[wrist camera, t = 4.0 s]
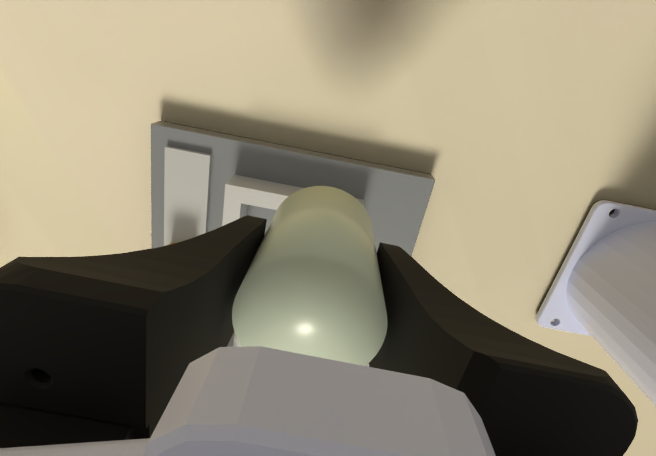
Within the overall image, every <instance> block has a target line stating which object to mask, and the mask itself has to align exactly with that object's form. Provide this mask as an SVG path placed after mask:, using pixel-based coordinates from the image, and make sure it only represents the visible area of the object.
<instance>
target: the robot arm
mask: <svg viewBox="0 0 656 456" xmlns="http://www.w3.org/2000/svg"><path fill="white" fill-rule="evenodd" d="M613 209H615V212H614V213H613V214H611V215H609V213H610V211H611V210H613ZM266 222H267V219H263V218H259V217H254V216H249V215H247V216H244V217H242V218H239V219H237V220H235V221H233V222H230V223H228V224H226V225H224V226H221V227H219V228H217V229H215V230H212V231H210V232H207V233H204V234H201V235H199V236H196V237H193V238H191V239H188V240H185V241H181V242H178V243H174V244H170V245H166V246H162V247H158V248H153V249H146V250H140V251H134V252H128V253H121V254H112V255H101V256H85V257H18V258H16V259H14V260H13V261H11V262H9V263H8V264H6V265H4V266H3V267H1V268H0V456H623V455H624V453H625V452H626V451H627V449H628V447H629V446H630V444H631V442H632V441H633V439H634V437H635V434H636V429H637V423H638V419H637V414H636V410H635V407H634V405H633V404H632V403H631V401H630V400H629V399H628V397H627V396H626V395H625V394H624V392H623V391H622V390H621V389H620V388H619V387H618V385H617V384H616V383H615V382H614V381H613V379H612V378H611V377H610V376H609V375H608V373H607V372H606V371H604V370H602V369H599V368H596V367H594V366H591V365H589V364H586V363H584V362H581V361H578V360H576V359H573V358H571V357H568V356H566V355H563V354H560V353H558V352H555V351H553V350H551V349H549V348H546V347H544V346H542V345H540V344H538V343H536V342H533V341H531V340H529V339H527V338H525V337H523V336H521V335H519V334H517V333H515V332H513V331H511V330H509V329H507V328H506V327H504V326H502V325H500V324H499V323H497V322H495V321H493V320H491V319H490V318H488V317H486V316H485V315H483V314H482V313H480V312H478V311H477V310H475V309H474V308H473V307H471V306H470V305H468V304H467V303H465V302H464V301H462V300H461V299H459V298H458V297H457V296H455V295H454V294H453V293H452V292H450V291H449V290H448V289H447V288H445V287H444V286H443V285H442V284H441V283H439V282H438V281H437V280H436V279H435V278H434V277H432V276H431V275H430V274H429V273H428V272H427V271H426V270H425V269H424V268H423V267H422V266H421V265H419V264H418V263H417V262H416V261H415V260H414V259H413V258H412V257H411V256H410V255H409V254H408V253H407V252H406V251H404V250H403V249H402V248H401V247H399V246H396V245H391V244H386V243H381V242H380V243H379V247H378V250H377V259H378V264H379V270H380V276H381V282H382V288H383V294H384V300H385V306H386V312H387V332H386V336H385V340H384V342H383V344H382V346H381V348H380V350H379V351H378V353H377V354H376V356H375V357H374V358H373V359H372V360H371V361H370V362H369V367H367V366H362V365H357V364H351V363H346V362H341V361H336V360H330V359H325V358H320V357H314V356H309V355H304V354H299V353H293V352H288V351H283V350H277V349H272V348H267V347H262V346H247V347H227V345H228V343H229V341H230V339H231V337H232V335H233V333H234V328H233V324H232V308H233V303H234V299H235V297H236V294H237V292H238V290H239V288H240V286H241V284H242V282H243V279H244V277H245V275H246V273H247V271H248V269H249V267H250V265H251V263H252V261H253V259H254V256H255V254H256V252H257V250H258V248H259V246H260V244H261V242H262V240H263V238H264V235H265V229H266ZM535 319H536V321H537V323H538V324H539V325H540V326H541V327H545V328H550V329H556V330H561V331H567V332H572V333H577V334H583V335H588V336H592V337H593V338H594V339H595V340H596V342H597V343H598V344H599V345H600V346H601V347H602V348H603V349H604V350H605V351H606V353H607V354H608V355H609V356H610V357H611V358H612V359H613V360H614V361H615V362H616V364H617V365H618V366H619V367H620V368H621V369H622V370H623V371H624V372H625V373H626V375H627V376H628V377H629V378H630V379H631V380H632V381H633V382H634V383H635V384H636V386H637V387H638V388H639V389H640V390H641V391H642V392H643V393H644V394H645V395H646V397H647V398H648V399H649V400H650V401H651V402H652V403H653V404H654V405H655V406H656V210H652V209H647V208H642V207H637V206H632V205H627V204H622V203H617V202H612V201H607V200H601V201H598V202H596V203H595V204H594V205H593V206H592V208H591V210H590V212H589V214H588V215H587V217H586V219H585V221H584V223H583V225H582V227H581V229H580V231H579V233H578V235H577V237H576V239H575V241H574V243H573V245H572V247H571V249H570V251H569V253H568V255H567V256H566V258H565V260H564V262H563V264H562V266H561V268H560V270H559V272H558V274H557V276H556V278H555V280H554V282H553V284H552V286H551V288H550V290H549V292H548V294H547V296H546V298H545V299H544V301H543V303H542V305H541V307H540V309H539V311H538V313H537V315H536V318H535ZM554 319H556V320H555V321H553V322H551V321H552V320H554Z"/></svg>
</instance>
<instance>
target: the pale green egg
mask: <svg viewBox="0 0 656 456" xmlns="http://www.w3.org/2000/svg"><path fill="white" fill-rule="evenodd" d="M232 324H233V328H234V332H235V335H236V337H237V340H238V341H239V343H240V345H241V347H247V346H262V347H267V348H272V349H277V350H283V351H288V352H293V353H299V354H304V355H309V356H314V357H320V358H325V359H330V360H336V361H341V362H346V363H351V364H357V365H362V366H366V365H367V364H368V363H369V362H370V361H371V360H372V359H373V358H374V357H375V356H376V354H377V353H378V351H379V350H380V348H381V346H382V344H383V342H384V340H385V336H386V332H387V312H386V306H385V300H384V294H383V288H382V282H381V276H380V270H379V264H378V259H377V253H376V247H375V241H374V235H373V229H372V223H371V220H370V217H369V215H368V213H367V211H366V209H365V208H364V207H363V205H362V204H361V203H360V202H359V201H358V200H357V199H356V198H355V197H353V196H352V195H350V194H349V193H347V192H345V191H343V190H341V189H338V188H335V187H330V186H312V187H307V188H304V189H301V190H299V191H297V192H295V193H293V194H291V195H290V196H288V197H287V198H286V199H285V200H284V201H283V202H282V203H281V205H280V206H279V207H278V209H277V211H276V213H275V215H274V217H273V219H272V221H271V223H270V225H269V227H268V229H267V231H266V233H265V236H264V238H263V240H262V242H261V244H260V246H259V248H258V250H257V252H256V254H255V256H254V259H253V261H252V263H251V265H250V267H249V269H248V271H247V273H246V275H245V277H244V279H243V282H242V284H241V286H240V288H239V290H238V292H237V294H236V297H235V299H234V303H233V308H232Z"/></svg>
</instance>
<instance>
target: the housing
mask: <svg viewBox="0 0 656 456" xmlns="http://www.w3.org/2000/svg"><path fill="white" fill-rule="evenodd" d="M434 183H435V179H434V178H433V176H432V175H431V174H426V173H421V172H416V171H411V170H406V169H401V168H396V167H391V166H386V165H380V164H375V163H370V162H365V161H360V160H355V159H350V158H345V157H340V156H335V155H330V154H325V153H320V152H315V151H310V150H305V149H299V148H294V147H289V146H284V145H279V144H274V143H269V142H264V141H259V140H254V139H249V138H244V137H239V136H234V135H229V134H224V133H218V132H213V131H208V130H203V129H198V128H193V127H188V126H183V125H178V124H173V123H168V122H163V121H159V122H156V123H152V124H151V202H152V249H153V248H158V247H162V246H166V245H169V244H170V243H171V242H175V243H178V242H181V241H185V240H188V239H191V238H193V237H196V236H199V235H201V234H204V233H207V232H210V231H212V230H215V229H217V228H219V227H221V226H224V225H226V224H228V223H230V222H233V221H235V220H237V219H239V218H242V217H244V216H247V215H249V216H254V217H259V218H263V219H267V222H266V229H265V233H266V231H267V229H268V227H269V225H270V223H271V221H272V219H273V217H274V215H275V213H276V211H277V209H278V207H279V206H280V205H281V203H282V202H283V201H284V200H285V199H286V198H287V197H288V196H290V195H291V194H293V193H295V192H297V191H299V190H301V189H304V188H307V187H312V186H330V187H335V188H338V189H341V190H343V191H345V192H347V193H349V194H350V195H352V196H353V197H355V198H356V199H357V200H358V201H359V202H360V203H361V204H362V205H363V207H364V208H365V209H366V211H367V213H368V215H369V217H370V220H371V223H372V229H373V235H374V241H375V247H376V253H377V250H378V247H379V243H380V242H381V243H386V244H391V245H396V246H399V247H401V248H402V249H403V250H404V251H406V252H407V253H408V254H409V255H410V256H411V255H412V252H413V249H414V246H415V242H416V239H417V236H418V233H419V230H420V227H421V223H422V220H423V217H424V214H425V211H426V208H427V205H428V201H429V198H430V195H431V192H432V189H433V186H434ZM264 236H265V235H264ZM227 347H241V345H240V343H239V341H238V340H237V337H236V335H235V332H234V333H233V335H232V337H231V339H230V341H229V343H228V345H227ZM366 366H367V367H369V363H368V364H367V365H366Z"/></svg>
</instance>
